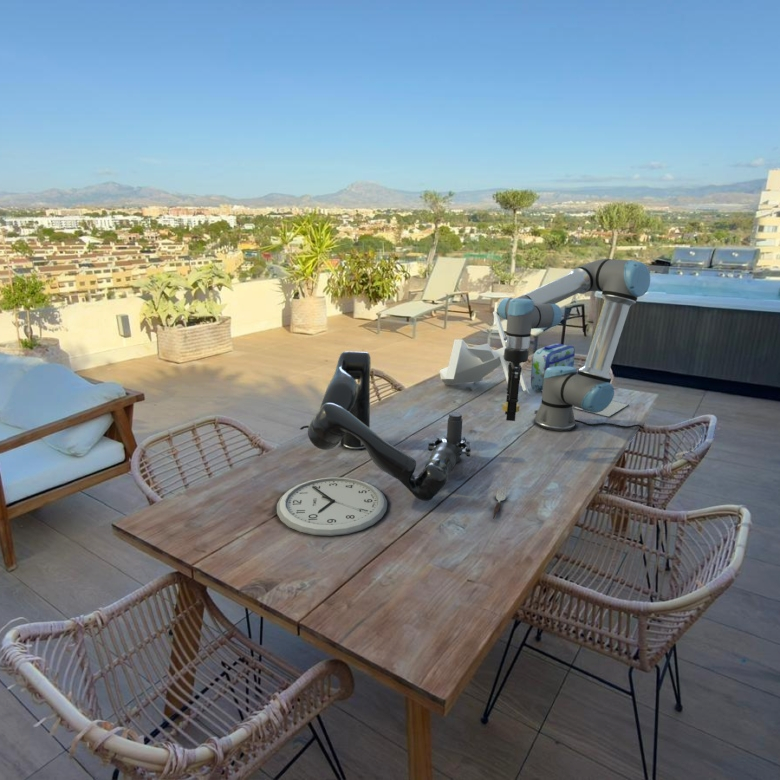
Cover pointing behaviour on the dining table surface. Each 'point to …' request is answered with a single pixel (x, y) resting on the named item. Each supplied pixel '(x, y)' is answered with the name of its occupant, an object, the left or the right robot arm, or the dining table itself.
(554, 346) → the lunch box
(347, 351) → the left robot arm
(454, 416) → the dark grey cylinder
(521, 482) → the dining table surface
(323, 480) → the wall clock
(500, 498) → the fork
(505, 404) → the lid
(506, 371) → the white plastic object
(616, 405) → the invitation card
